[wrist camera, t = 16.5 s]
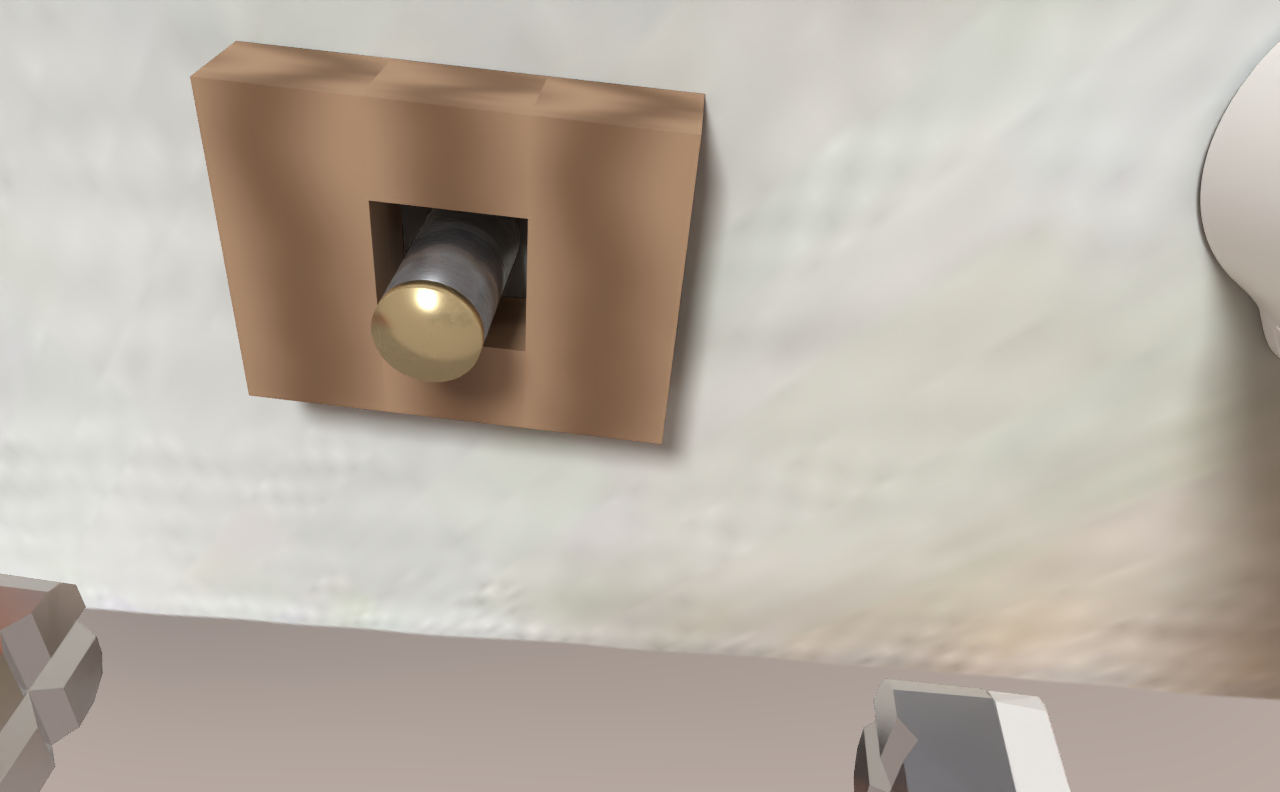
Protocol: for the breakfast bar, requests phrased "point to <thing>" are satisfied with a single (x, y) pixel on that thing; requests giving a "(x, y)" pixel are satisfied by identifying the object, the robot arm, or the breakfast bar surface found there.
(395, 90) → the chuck block
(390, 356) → the key peg
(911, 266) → the breakfast bar surface
